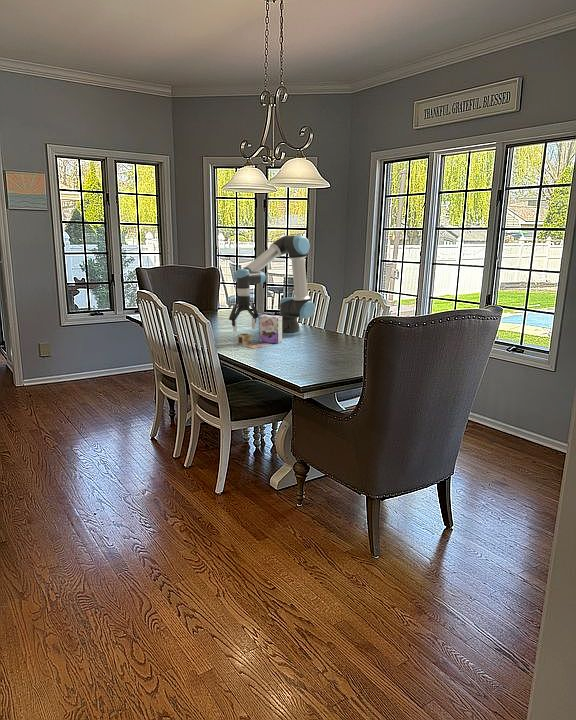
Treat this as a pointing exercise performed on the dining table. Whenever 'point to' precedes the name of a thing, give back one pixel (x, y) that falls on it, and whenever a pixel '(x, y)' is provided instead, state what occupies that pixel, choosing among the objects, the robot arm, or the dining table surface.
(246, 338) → the cube
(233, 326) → the robot arm
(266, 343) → the grey tile
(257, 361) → the dining table surface
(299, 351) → the dining table surface
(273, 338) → the candy box
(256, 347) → the terracotta tile
